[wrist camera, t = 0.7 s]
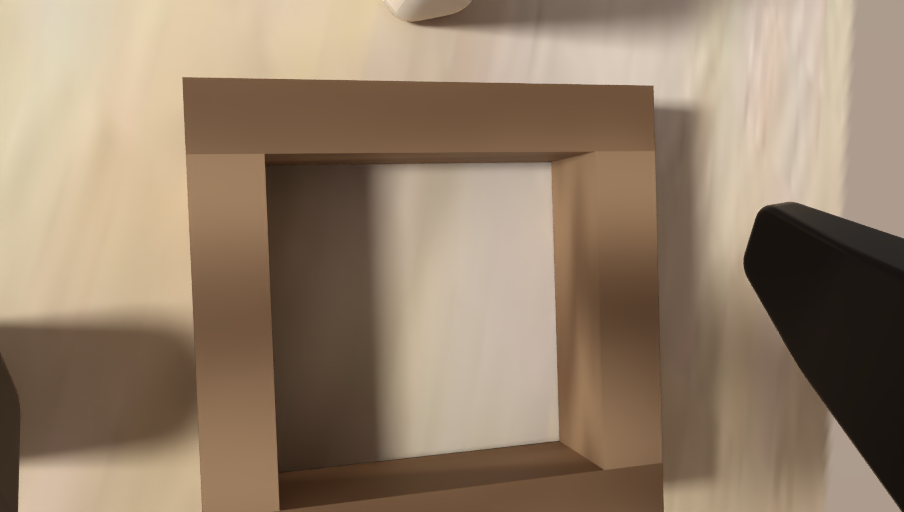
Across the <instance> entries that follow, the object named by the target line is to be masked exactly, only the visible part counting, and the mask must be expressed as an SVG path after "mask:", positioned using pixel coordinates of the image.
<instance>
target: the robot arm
mask: <svg viewBox="0 0 904 512" xmlns="http://www.w3.org/2000/svg"><path fill="white" fill-rule="evenodd" d="M743 264H744V270H745V273H746V276H747V278H748V280H749V282H750V283H751V285H752V287H753V289H754V290H755V292H756V294H757V295H758V297H759V299H760V301H761V302H762V304H763V306H764V308H765V309H766V311H767V313H768V315H769V316H770V318H771V320H772V322H773V323H774V325H775V327H776V329H777V330H778V332H779V334H780V336H781V337H782V339H783V341H784V343H785V344H786V346H787V348H788V350H789V351H790V353H791V355H792V356H793V358H794V360H795V361H796V363H797V365H798V366H799V368H800V369H801V371H802V372H803V374H804V375H805V377H806V378H807V380H808V381H809V383H810V384H811V385H812V387H813V388H814V390H815V391H816V392H817V394H818V395H819V397H820V398H821V399H822V401H823V402H824V404H825V405H826V406H827V408H828V409H829V411H830V412H831V413H832V415H833V416H834V418H835V419H836V420H837V422H838V423H839V425H840V426H841V427H842V429H843V430H844V432H845V433H846V434H847V436H848V437H849V439H850V440H851V441H852V443H853V444H854V446H855V447H856V448H857V450H858V451H859V453H860V454H861V455H862V457H863V458H864V459H865V461H866V462H867V464H868V465H869V466H870V468H871V469H872V471H873V472H874V473H875V475H876V476H877V478H878V479H879V481H880V482H881V483H882V485H883V486H884V488H885V489H886V490H887V492H888V493H889V495H890V496H891V497H892V499H893V500H894V502H895V503H896V504H897V506H898V507H899V509H900V510H901V511H902V512H904V238H901V237H898V236H894V235H892V234H889V233H886V232H882V231H879V230H877V229H874V228H870V227H867V226H865V225H861V224H859V223H856V222H853V221H850V220H847V219H844V218H841V217H838V216H835V215H832V214H829V213H826V212H823V211H820V210H817V209H814V208H811V207H808V206H805V205H802V204H799V203H795V202H785V203H779V204H773V205H767V206H765V207H763V208H762V209H761V210H760V211H759V212H758V214H757V216H756V219H755V222H754V225H753V228H752V232H751V235H750V238H749V241H748V245H747V248H746V251H745V254H744V262H743ZM19 449H20V404H19V398H18V394H17V391H16V388H15V386H14V384H13V381H12V379H11V377H10V374H9V372H8V370H7V367H6V365H5V363H4V361H3V358H2V356H1V354H0V512H18V491H19Z"/></svg>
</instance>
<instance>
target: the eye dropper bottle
mask: <svg viewBox="0 0 904 512" xmlns="http://www.w3.org/2000/svg"><path fill="white" fill-rule="evenodd" d="M472 1H473V0H382V2H383V3H384V4H385V6H386V7H387V8H388V9H389V11H390V12H391V13H392V14H393V15H394V16H396V17H397V18H399V19H400V20H403V21H411V22H414V21H420V20H426V19H431V18H436V17H441V16H446V15H451V14H455V13H457V12H459V11H461V10H462V9H464V8H465V7H467V6H468V5H469V4H470V3H471V2H472Z"/></svg>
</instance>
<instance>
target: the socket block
mask: <svg viewBox="0 0 904 512" xmlns="http://www.w3.org/2000/svg"><path fill="white" fill-rule="evenodd" d="M182 78H183V100H184V122H185V144H186V166H187V188H188V210H189V232H190V253H191V275H192V297H193V319H194V341H195V363H196V385H197V406H198V428H199V450H200V472H201V494H202V512H664V503H663V462H662V420H661V379H660V338H659V297H658V255H657V214H656V173H655V132H654V91H653V86H637V85H581V84H525V83H469V82H413V81H357V80H301V79H245V78H188V77H182ZM501 162H552V195H553V230H554V264H555V299H556V333H557V368H558V402H559V437H560V441H558V442H549V443H540V444H531V445H523V446H514V447H505V448H496V449H487V450H478V451H469V452H460V453H452V454H443V455H434V456H425V457H416V458H407V459H398V460H390V461H381V462H372V463H363V464H354V465H345V466H336V467H328V468H319V469H310V470H301V471H292V472H283V473H278V463H277V439H276V415H275V391H274V368H273V344H272V320H271V296H270V273H269V249H268V225H267V201H266V178H265V165H313V164H407V163H501Z"/></svg>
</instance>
